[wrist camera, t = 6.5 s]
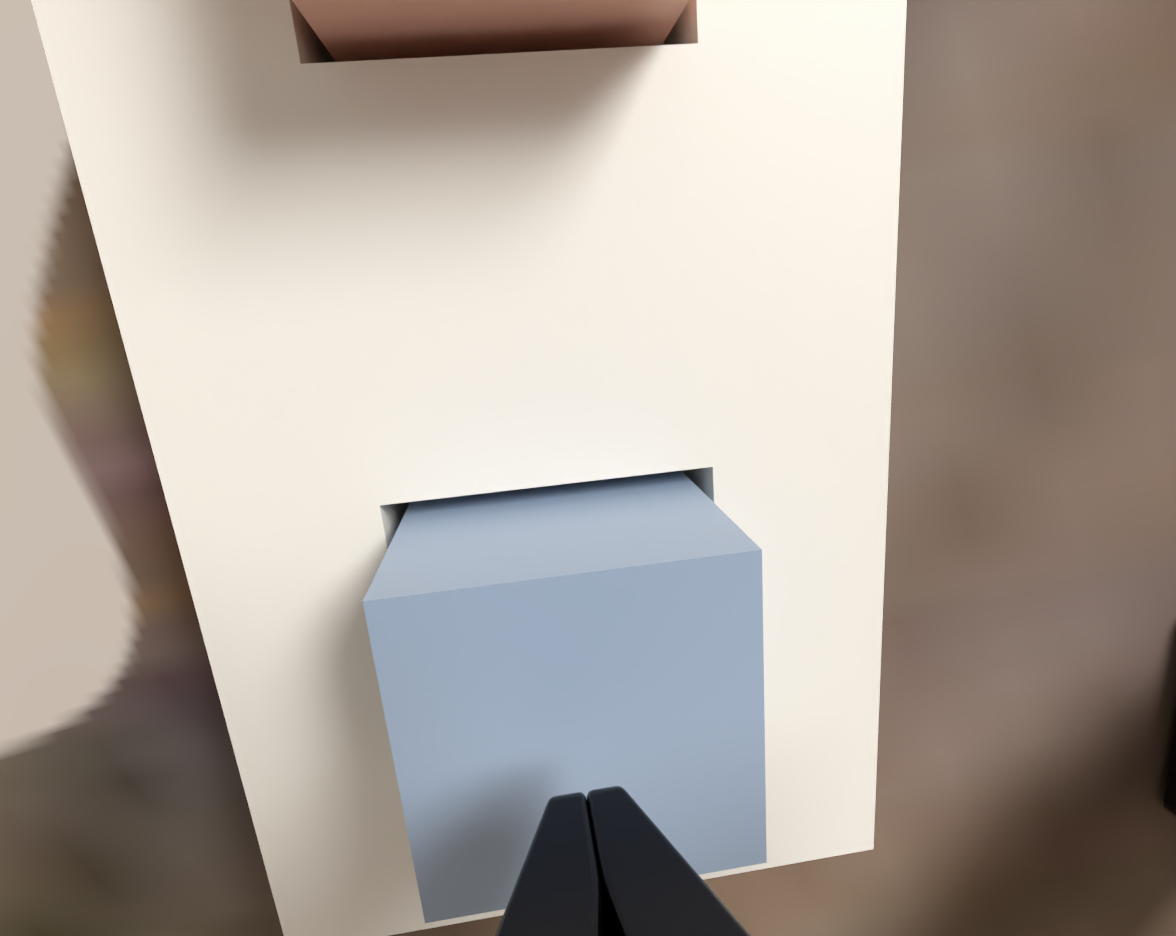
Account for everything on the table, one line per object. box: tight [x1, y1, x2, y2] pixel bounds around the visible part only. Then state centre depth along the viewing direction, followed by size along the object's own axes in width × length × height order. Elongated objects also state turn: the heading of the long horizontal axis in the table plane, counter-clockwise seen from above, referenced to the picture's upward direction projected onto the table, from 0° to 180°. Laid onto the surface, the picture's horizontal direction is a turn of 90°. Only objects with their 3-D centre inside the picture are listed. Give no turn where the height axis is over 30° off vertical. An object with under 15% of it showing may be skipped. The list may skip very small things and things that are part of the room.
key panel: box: [31, 0, 907, 936], centre depth 11 cm, size 24×12×2 cm, turn 5°
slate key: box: [362, 471, 767, 923], centre depth 11 cm, size 5×5×4 cm
